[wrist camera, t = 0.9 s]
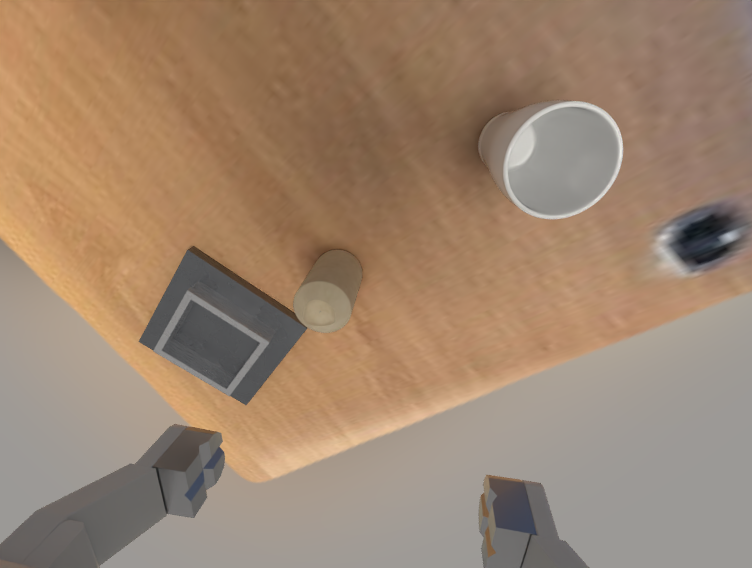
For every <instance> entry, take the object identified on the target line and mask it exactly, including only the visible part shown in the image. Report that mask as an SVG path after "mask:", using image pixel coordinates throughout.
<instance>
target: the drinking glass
mask: <svg viewBox="0 0 752 568" xmlns="http://www.w3.org/2000/svg"><path fill="white" fill-rule="evenodd" d="M478 150H479V155H480V158H481V160H482V161H483V163H484V164H485V165H486V166H487V168H488V170H489V172H490V174H491V177H492V179H493V181H494V182H495V184H496V186H497V187H498V189H499V190H500V191H501V192H502V194H503V195H504V196H505V197H506V198H507V199H508V200H509V201H510V202H512V203H513V204H514V205H515V206H517V207H518V208H520V209H521V210H522V211H524V212H525V213H527V214H529V215H532V216H534V217H538V218H542V219H562V218H567V217H570V216H573V215H576V214H578V213H581V212H583V211H585V210H586V209H588V208H589V207H591V206H592V205H594V204H595V203H596V202H597V201H599V200H600V199H601V198H602V197H603V196H604V195H605V193H606V192H607V191H608V190H609V188H610V187H611V186H612V184H613V182H614V181H615V179H616V177H617V175H618V172H619V170H620V167H621V163H622V158H623V141H622V136H621V133H620V130H619V128H618V126H617V124H616V122H615V121H614V120H613V118H612V117H611V116H610V115H609V114H608V113H607V112H606V111H604V110H603V109H601V108H600V107H598V106H596V105H593V104H590V103H587V102H581V101H572V100H551V101H543V102H538V103H534V104H531V105H528V106H525V107H523V108H520V109H517V110H514V111H509V112H504V113H501V114H499V115H497V116H495V117H494V118H492V119H491V120H490V121H489V122H488V123H487V124H486V125H485V127H484V128H483V130H482V132H481V134H480V137H479V142H478Z"/></svg>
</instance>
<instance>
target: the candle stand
mask: <svg viewBox="0 0 752 568" xmlns="http://www.w3.org/2000/svg"><path fill="white" fill-rule="evenodd" d="M306 329H307V327H306V326H305V325H303V324H302V323H301V322H300V320H299V319H298V318H297V316H296V314H295V313H293V312H292V311H290V310H289V309H287V308H286V307H284V306H283V305H281V304H280V303H278V302H277V301H275V300H274V299H272V298H271V297H269V296H268V295H266V294H265V293H263V292H262V291H260V290H259V289H257V288H256V287H254V286H253V285H251V284H250V283H248V282H247V281H245V280H244V279H242V278H241V277H239V276H238V275H236V274H235V273H233V272H232V271H230V270H228V269H227V268H225V267H224V266H222V265H221V264H219V263H218V262H216V261H215V260H213V259H212V258H210V257H209V256H207V255H206V254H204V253H203V252H201V251H200V250H198V249H197V248H195V247H194V246H193V247H191V248H190V249H188V250H187V252H186V254H185V256H184V258H183V259H182V261H181V263H180V265H179V267H178V269H177V271H176V273H175V274H174V276H173V278H172V280H171V282H170V284H169V286H168V288H167V290H166V291H165V293H164V295H163V297H162V299H161V301H160V303H159V305H158V306H157V308H156V310H155V312H154V314H153V316H152V318H151V320H150V321H149V323H148V325H147V327H146V329H145V331H144V333H143V335H142V336H141V338H140V340H139V342H140V343H142V344H143V345H145V346H147V347H149V348H150V349H152V350H153V351H154V352H155V353H157V354H159V355H160V356H162V357H164V358H166V359H167V360H169V361H171V362H172V363H174V364H176V365H177V366H179V367H181V368H182V369H184V370H186V371H187V372H189V373H191V374H193V375H194V376H196V377H198V378H199V379H201V380H203V381H204V382H206V383H208V384H209V385H211V386H213V387H215V388H216V389H218V390H220V391H221V392H223V393H225V394H226V395H228V396H231V397H233V398H235V399H236V400H238V401H240V402H241V403H243V404H245V405H247V404H248V402H249V401H250V400H251V399H252V397H253V396H254V395H255V394H256V392H257V391H258V390H259V388H260V387H261V386H262V385H263V383H264V382H265V381H266V380H267V378H268V377H269V376H270V375H271V373H272V372H273V371H274V370H275V368H276V367H277V366H278V364H279V363H280V362H281V361H282V359H283V358H284V357H285V356H286V354H287V353H288V352H289V351H290V349H291V348H292V347H293V346H294V344H295V343H296V342H297V340H298V339H299V338H300V337H301V335H302V334H303V333H304V332H305V330H306Z"/></svg>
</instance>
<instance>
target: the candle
mask: <svg viewBox="0 0 752 568" xmlns="http://www.w3.org/2000/svg"><path fill="white" fill-rule="evenodd" d="M361 281H362V267H361V264H360V262H359V261H358V260H357V258H356V257H355V256H354V255H352V254H351V253H349V252H347V251H344V250H331V251H328V252H326V253H324V254H323V255H321V256H320V257H319V259H318V260H317V261H316V263H315V264H314V266H313V268H312V269H311V271H310V272H309V274H308V275H307V277H306V278H305V280H304V281H303V283H302V285H301V286H300V288H299V289H298V291H297V292H296V294H295V297H294V301H293V307H294V311H295V314H296V316H297V318H298V319H299V320H300V322H301V323H302V324H303V325H305V326H306V327H308V328H309V329H311V330H314V331H317V332H321V333H330V332H334V331H337V330H339V329H341V328H342V327H344V326H345V325H346V324H347V322H348V321H349V319H350V316H351V313H352V310H353V307H354V303H355V300H356V297H357V294H358V291H359V288H360V284H361Z"/></svg>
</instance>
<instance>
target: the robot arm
mask: <svg viewBox="0 0 752 568" xmlns="http://www.w3.org/2000/svg"><path fill="white" fill-rule="evenodd" d="M222 442H223V441H222V435H221V433H219V432H216V431H210V430H205V429H200V428H195V427H188V426H182V425H177V424H174V425H172V426H170V427H169V428H168V429H167V430H166V431H165V432H164V433H163V435H161V437H160V438H159V439H158V440H157V441H156V442H155V443H154V444H153V445H152V446H151V447H150V448H149V449H148V451H147V452H146V453H145V454H144V455H143V456H142V457H141V458H140V459H139V460H138V462H136V464H129V465H127V466H125V467H123V468H121V469H119V470H117V471H115V472H113V473H111V474H109V475H107V476H105V477H103V478H101V479H99V480H97V481H95V482H93V483H91V484H89V485H87V486H85V487H83V488H81V489H79V490H77V491H75V492H73V493H71V494H69V495H67V496H65V497H63V498H61V499H59V500H57V501H55V502H53V503H51V504H49V505H47V506H45V507H43V508H41V509H39V510H37V511H35V512H34V513H33V514H32V515H31V516H30V517H29V518H28V519H27V520H26V521H25V522H24V523H22V524H21V525H20V526H19V527H18V528H17V529H16V530H15V531H14V532H13V533H12V534H11V535H10V536H9V537H8V538H6V539H5V540H4V541H3V542H2V543H1V544H0V568H100V567H99V566H100V565H101V564H103V563H104V562H105V561H107V560H108V559H109V558H111V557H112V556H113V555H114V554H116V553H117V552H119V551H120V550H121V549H123V548H124V547H125V546H127V545H128V544H129V543H131V542H132V541H133V540H135V539H136V538H137V537H138V536H140V535H141V534H142V533H144V532H145V531H147V530H148V529H149V528H151V527H152V526H153V525H154V524H155V523H157V522H159V521H160V520H161V519H163V518H164V517H165V516H166V514H172V515H179V516H185V517H191V518H194V517H195V515H196V514H197V512H198V511H199V509H200V508H201V506H202V505H203V503H204V501H205V500H206V498H207V492H206V490H207V489H209V488H210V487H212V486H214V485H215V484H216V483H217V481H218V479H219V478H220V476H221V473H222V470H223V468H224V462H225V455H224V451H223V450H222V449H221V448H220V447H219V446H220V444H221V443H222ZM483 486H484V493H483V494H482V495H481V497H480V502H479V530H480V533H481V534H482V536H483V537H484V539H483V543H482V548H481V549H482V558H483V567H484V568H589V567H588V566H587V565H586V563H585V562H584V561H583V560H582V559H581V558H580V557H579V556H578V555H577V553H576V552H575V551H574V550H573V549H572V548H571V547H570V546H569V544H568V543H567V542H566V541H563V540H559V536H558V533H557V530H556V527H555V523H554V520H553V517H552V513H551V510H550V507H549V504H548V501H547V497H546V494H545V491H544V487H543V486H542V484H541V483H537V482H531V481H524V480H522V481H521V480H519V479H512V478H504V477H498V476H491V475H486V477H485V479H484V483H483Z"/></svg>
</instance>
